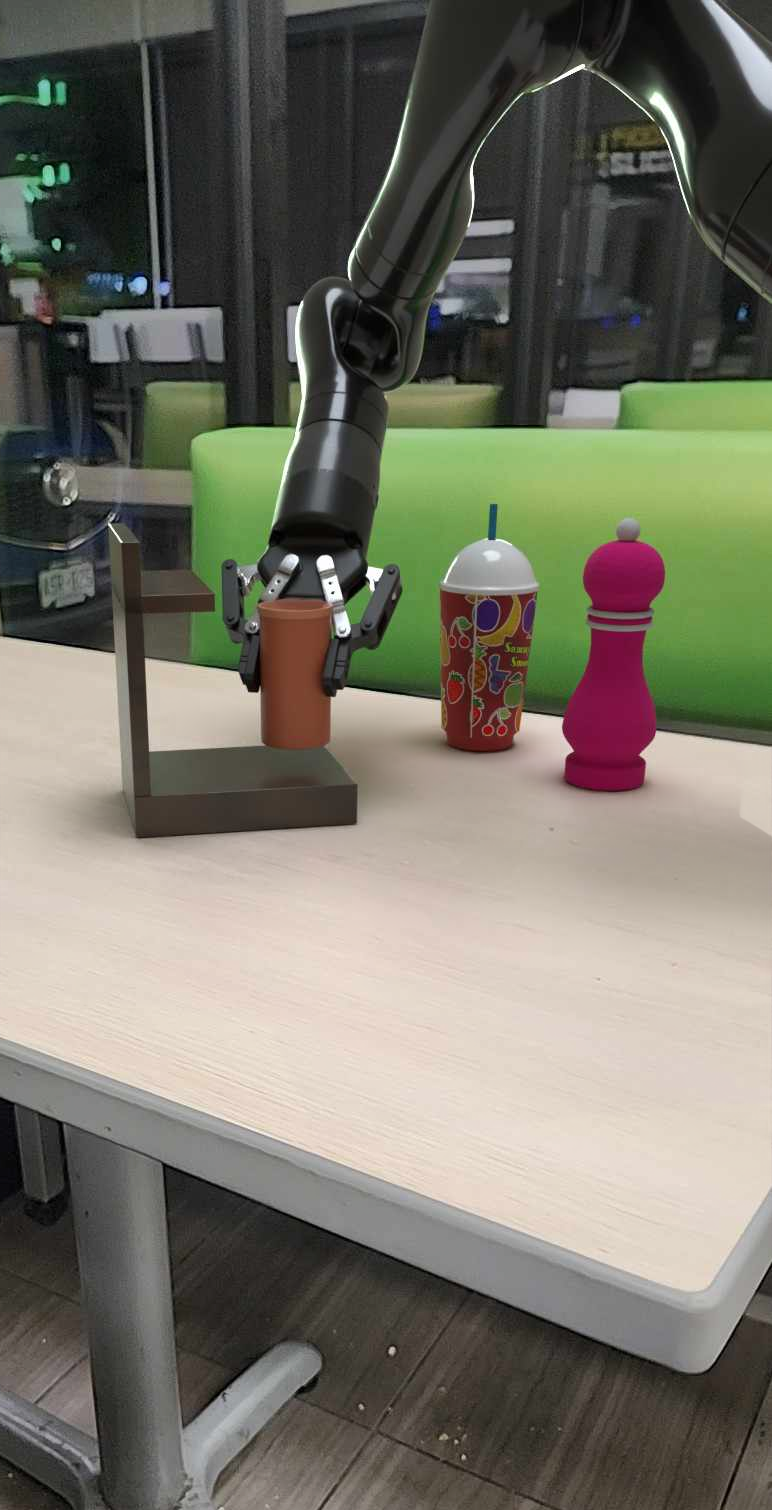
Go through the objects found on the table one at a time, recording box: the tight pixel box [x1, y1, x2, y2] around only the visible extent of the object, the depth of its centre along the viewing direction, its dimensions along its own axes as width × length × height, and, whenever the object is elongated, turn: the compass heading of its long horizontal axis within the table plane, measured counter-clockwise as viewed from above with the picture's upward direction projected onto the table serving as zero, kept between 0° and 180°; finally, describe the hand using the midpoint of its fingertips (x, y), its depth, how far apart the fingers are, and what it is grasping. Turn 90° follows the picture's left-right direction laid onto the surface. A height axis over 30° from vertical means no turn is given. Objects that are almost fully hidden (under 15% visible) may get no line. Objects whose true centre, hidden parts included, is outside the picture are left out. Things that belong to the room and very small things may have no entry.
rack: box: [107, 522, 359, 839], centre depth 96 cm, size 16×12×20 cm
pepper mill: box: [561, 517, 666, 792], centre depth 102 cm, size 7×7×20 cm
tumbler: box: [257, 599, 333, 750], centre depth 97 cm, size 5×5×10 cm
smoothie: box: [438, 503, 541, 752], centre depth 113 cm, size 8×8×20 cm
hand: (289, 688), depth 96 cm, fingers closed on tumbler, 5 cm apart
